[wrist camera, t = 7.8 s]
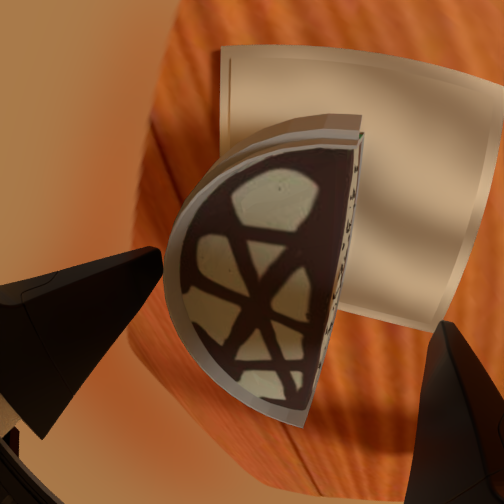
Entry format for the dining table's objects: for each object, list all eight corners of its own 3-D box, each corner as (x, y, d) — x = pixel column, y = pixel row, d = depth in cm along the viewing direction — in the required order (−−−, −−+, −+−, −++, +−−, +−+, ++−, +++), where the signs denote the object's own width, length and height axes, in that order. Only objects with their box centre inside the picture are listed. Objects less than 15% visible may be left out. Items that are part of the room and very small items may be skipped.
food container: (252, 95, 16) (125, 114, 8) (366, 104, 14) (359, 121, 6) (251, 282, 22) (177, 393, 14) (339, 301, 20) (301, 433, 12)
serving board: (434, 315, 20) (435, 335, 18) (233, 263, 25) (220, 278, 24) (495, 88, 12) (508, 87, 10) (236, 49, 17) (219, 45, 15)
